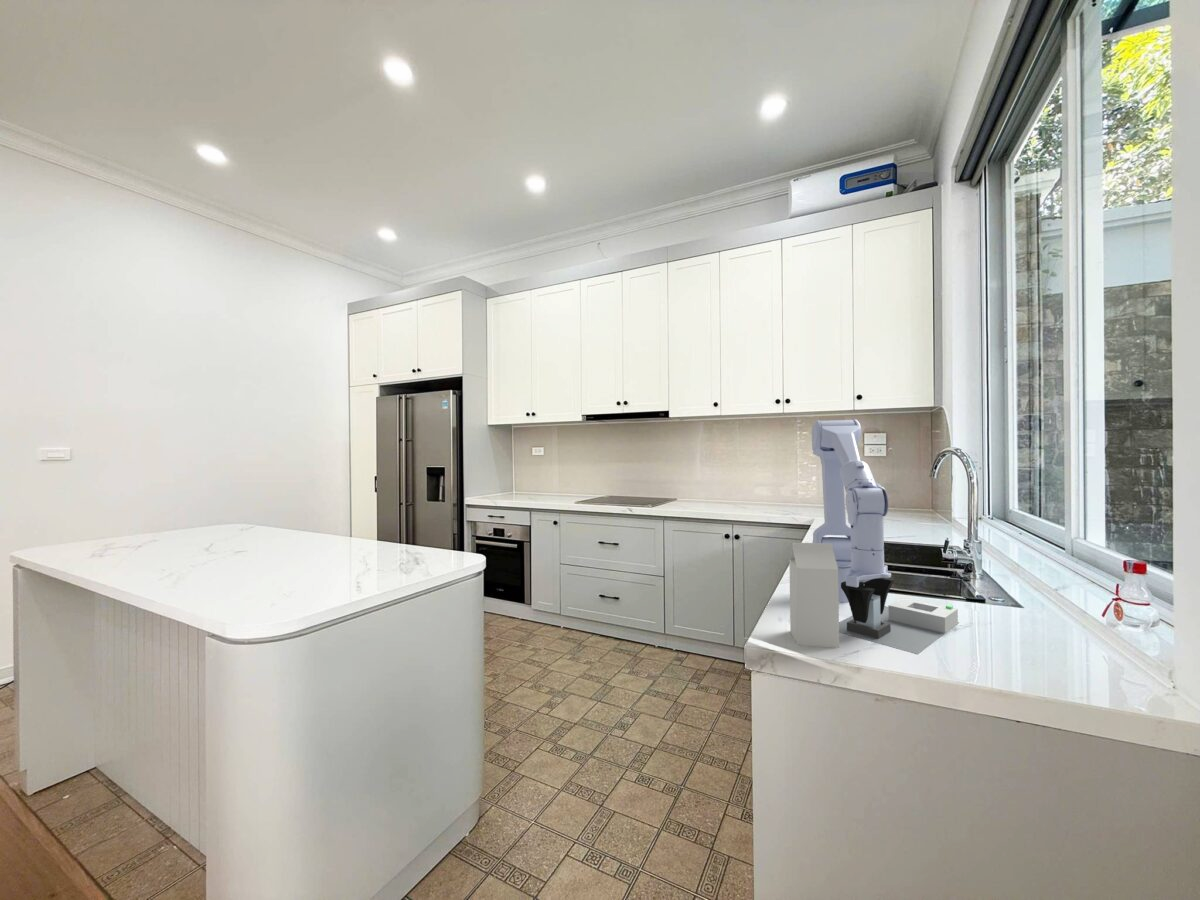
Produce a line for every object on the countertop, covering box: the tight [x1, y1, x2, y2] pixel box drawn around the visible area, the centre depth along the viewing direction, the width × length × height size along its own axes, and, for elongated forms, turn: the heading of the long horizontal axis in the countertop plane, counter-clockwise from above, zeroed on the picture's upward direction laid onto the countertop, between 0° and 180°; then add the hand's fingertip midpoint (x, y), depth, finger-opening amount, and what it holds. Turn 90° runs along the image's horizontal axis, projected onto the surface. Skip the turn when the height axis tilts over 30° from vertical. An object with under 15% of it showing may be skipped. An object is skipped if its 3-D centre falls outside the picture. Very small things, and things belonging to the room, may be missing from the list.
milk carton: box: [788, 542, 840, 649], centre depth 90 cm, size 7×7×19 cm
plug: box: [856, 594, 881, 628], centre depth 93 cm, size 3×3×7 cm
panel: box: [839, 597, 960, 655], centre depth 96 cm, size 16×24×4 cm, turn 129°
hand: (868, 616), depth 93 cm, fingers open, 7 cm apart
